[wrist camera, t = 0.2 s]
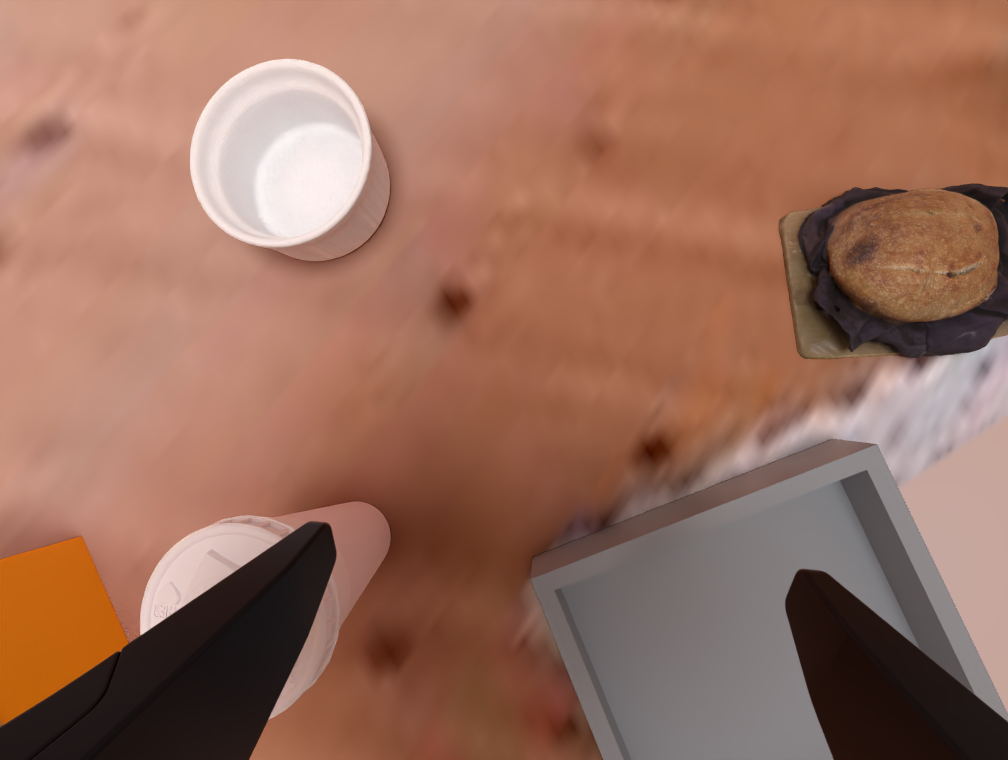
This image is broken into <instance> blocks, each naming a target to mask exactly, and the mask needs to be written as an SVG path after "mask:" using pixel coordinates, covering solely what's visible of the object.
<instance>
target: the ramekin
mask: <svg viewBox="0 0 1008 760" xmlns="http://www.w3.org/2000/svg"><path fill="white" fill-rule="evenodd" d="M190 172H191V179H192V182H193V185H194V189H195V192H196V195H197V198H198V200H199V202H200V203H201V205H202V207H203V209H204V210H205V212H206V213H207V215H208V216H209V217H210V218H211V219H212V221H213V222H214V223H215V224H216V225H217V226H218V227H219V228H220V229H222V230H223V231H225V232H226V233H227V234H229V235H230V236H232V237H234V238H236V239H238V240H240V241H242V242H245V243H248V244H251V245H254V246H258V247H262V248H268V249H272V250H275V251H277V252H280V253H282V254H285V255H287V256H290V257H293V258H296V259H300V260H306V261H326V260H332V259H335V258H338V257H341V256H344V255H346V254H348V253H350V252H352V251H354V250H355V249H357V248H358V247H360V246H361V245H362V244H364V243H365V242H366V241H367V240H368V239H369V238H370V237H371V236H372V235H373V234H374V232H375V231H376V229H377V228H378V226H379V225H380V223H381V221H382V219H383V217H384V215H385V212H386V209H387V205H388V201H389V196H390V178H389V172H388V168H387V164H386V161H385V159H384V157H383V154H382V151H381V149H380V147H379V145H378V143H377V141H376V139H375V137H374V135H373V133H372V131H371V127H370V123H369V120H368V117H367V115H366V112H365V110H364V107H363V105H362V104H361V102H360V100H359V98H358V97H357V95H356V93H355V92H354V91H353V90H352V89H351V87H350V86H349V85H348V84H347V83H346V82H345V81H344V80H343V79H342V78H341V77H339V76H338V75H336V74H335V73H334V72H332V71H331V70H329V69H327V68H325V67H323V66H321V65H318V64H315V63H312V62H308V61H304V60H299V59H278V60H271V61H267V62H264V63H260V64H257V65H255V66H252V67H249V68H248V69H246V70H244V71H242V72H240V73H239V74H237V75H235V76H234V77H233V78H231V79H230V80H228V81H227V82H226V83H225V84H224V85H223V86H222V87H221V88H219V90H218V91H217V92H216V93H215V94H214V96H213V97H212V98H211V99H210V101H209V102H208V103H207V105H206V107H205V108H204V110H203V112H202V114H201V116H200V118H199V120H198V123H197V125H196V128H195V131H194V135H193V138H192V142H191V150H190Z"/></svg>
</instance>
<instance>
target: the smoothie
mask: <svg viewBox="0 0 1008 760" xmlns="http://www.w3.org/2000/svg"><path fill="white" fill-rule="evenodd" d="M309 521H318V522H327V523H329V524H330V526H331V528H332V532H333V537H334V541H335V546H336V551H337V556H336V562H335V565H334V568H333V571H332V573H331V576H330V579H329V581H328V584H327V587H326V590H325V592H324V595H323V598H322V601H321V603H320V606H319V609H318V612H317V614H316V617H315V620H314V622H313V625H312V628H311V630H310V633H309V635H308V638H307V640H306V642H305V644H304V647H303V649H302V651H301V653H300V655H299V657H298V659H297V661H296V663H295V665H294V667H293V669H292V672H291V674H290V676H289V678H288V680H287V682H286V684H285V686H284V688H283V690H282V692H281V694H280V696H279V698H278V700H277V703H276V705H275V707H274V709H273V711H272V713H271V715H270V717H269V719H271V718H273V717H275V716H277V715H278V714H280V713H282V712H283V711H284V710H286V709H287V708H288V707H290V706H291V705H292V704H293V703H294V702H295V701H296V700H297V699H298V698H299V697H300V696H301V695H302V694H303V693H304V692H305V691H306V690H307V689H308V688H310V687H311V686H312V685H313V684H314V683H315V682H316V681H317V679H318V678H319V676H320V675H321V673H322V672H323V671H324V669H325V668H326V666H327V665H328V663H329V662H330V659H331V656H332V653H333V650H334V648H335V645H336V642H337V639H338V634H339V629H340V628H341V626H342V624H343V623H344V621H345V619H346V618H347V616H348V615H349V613H350V612H351V610H352V608H353V607H354V605H355V604H356V602H357V601H358V599H359V597H360V596H361V594H362V593H363V591H364V590H365V588H366V586H367V585H368V583H369V582H370V580H371V579H372V577H373V575H374V574H375V572H376V571H377V569H378V568H379V566H380V564H381V563H382V561H383V560H384V558H385V557H386V555H387V553H388V550H389V547H390V541H391V533H390V528H389V525H388V522H387V520H386V518H385V517H384V515H383V514H382V513H381V512H380V511H379V510H378V509H377V508H375V507H374V506H372V505H370V504H368V503H365V502H359V501H354V502H348V503H343V504H338V505H333V506H328V507H323V508H318V509H313V510H308V511H303V512H298V513H293V514H288V515H283V516H278V517H272V518H270V517H261V516H251V515H243V516H237V517H232V518H226V519H222V520H220V521H218V522H216V523H214V524H212V525H210V526H208V527H205V528H202V529H200V530H197V531H195V532H193V533H191V534H189V535H188V536H186V537H185V538H183V539H182V540H180V541H179V542H178V543H177V544H175V545H174V546H173V547H172V548H171V549H170V550H169V551H168V552H167V553H166V554H165V555H164V557H163V558H162V559H161V560H160V562H159V563H158V565H157V566H156V568H155V570H154V571H153V573H152V575H151V577H150V579H149V582H148V584H147V587H146V590H145V593H144V597H143V601H142V606H141V612H140V635H142V634H143V633H145V632H146V631H148V630H149V629H151V628H152V627H154V626H155V625H157V624H158V623H160V622H161V621H162V620H164V619H165V618H167V617H168V616H170V615H171V614H173V613H174V612H176V611H177V610H179V609H180V608H182V607H183V606H185V605H186V604H187V603H189V602H190V601H192V600H193V599H195V598H196V597H198V596H199V595H201V594H202V593H204V592H205V591H207V590H208V589H210V588H211V587H212V586H214V585H215V584H217V583H218V582H220V581H221V580H223V579H224V578H226V577H227V576H229V575H230V574H232V573H233V572H235V571H236V570H237V569H239V568H240V567H242V566H243V565H245V564H246V563H248V562H249V561H251V560H252V559H254V558H255V557H257V556H258V555H260V554H261V553H262V552H264V551H265V550H267V549H268V548H270V547H271V546H273V545H274V544H276V543H277V542H279V541H280V540H282V539H283V538H285V537H286V536H287V535H289V534H290V533H292V532H293V531H295V530H296V529H298V528H299V527H301V526H302V525H304V524H305V523H307V522H309ZM269 719H268V720H269Z"/></svg>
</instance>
